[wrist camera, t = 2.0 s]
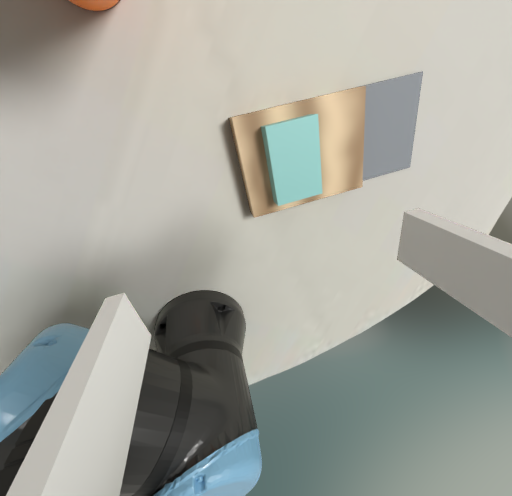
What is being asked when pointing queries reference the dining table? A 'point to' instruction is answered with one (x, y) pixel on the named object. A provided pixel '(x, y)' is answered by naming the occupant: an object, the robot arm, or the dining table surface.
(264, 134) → the turquoise rectangular block
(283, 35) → the dining table surface
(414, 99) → the mat
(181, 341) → the robot arm
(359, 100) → the tan wooden board
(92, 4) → the shaker bottle
